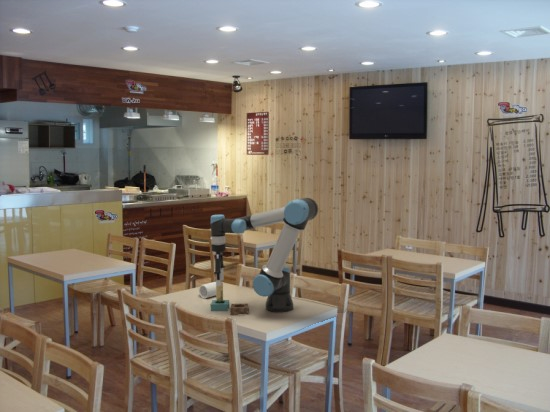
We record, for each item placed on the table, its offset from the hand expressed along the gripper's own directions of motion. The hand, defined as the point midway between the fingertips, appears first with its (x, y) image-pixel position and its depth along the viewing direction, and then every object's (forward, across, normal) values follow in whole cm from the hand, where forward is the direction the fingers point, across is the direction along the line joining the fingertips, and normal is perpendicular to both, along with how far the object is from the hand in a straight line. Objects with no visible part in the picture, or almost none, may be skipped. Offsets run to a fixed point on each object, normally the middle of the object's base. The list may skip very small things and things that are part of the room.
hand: (220, 283), depth 309 cm
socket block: (+14, 0, 0) cm, 14 cm away
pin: (+14, 0, -1) cm, 14 cm away
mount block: (+14, +8, +10) cm, 19 cm away
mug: (+14, -27, -10) cm, 32 cm away
